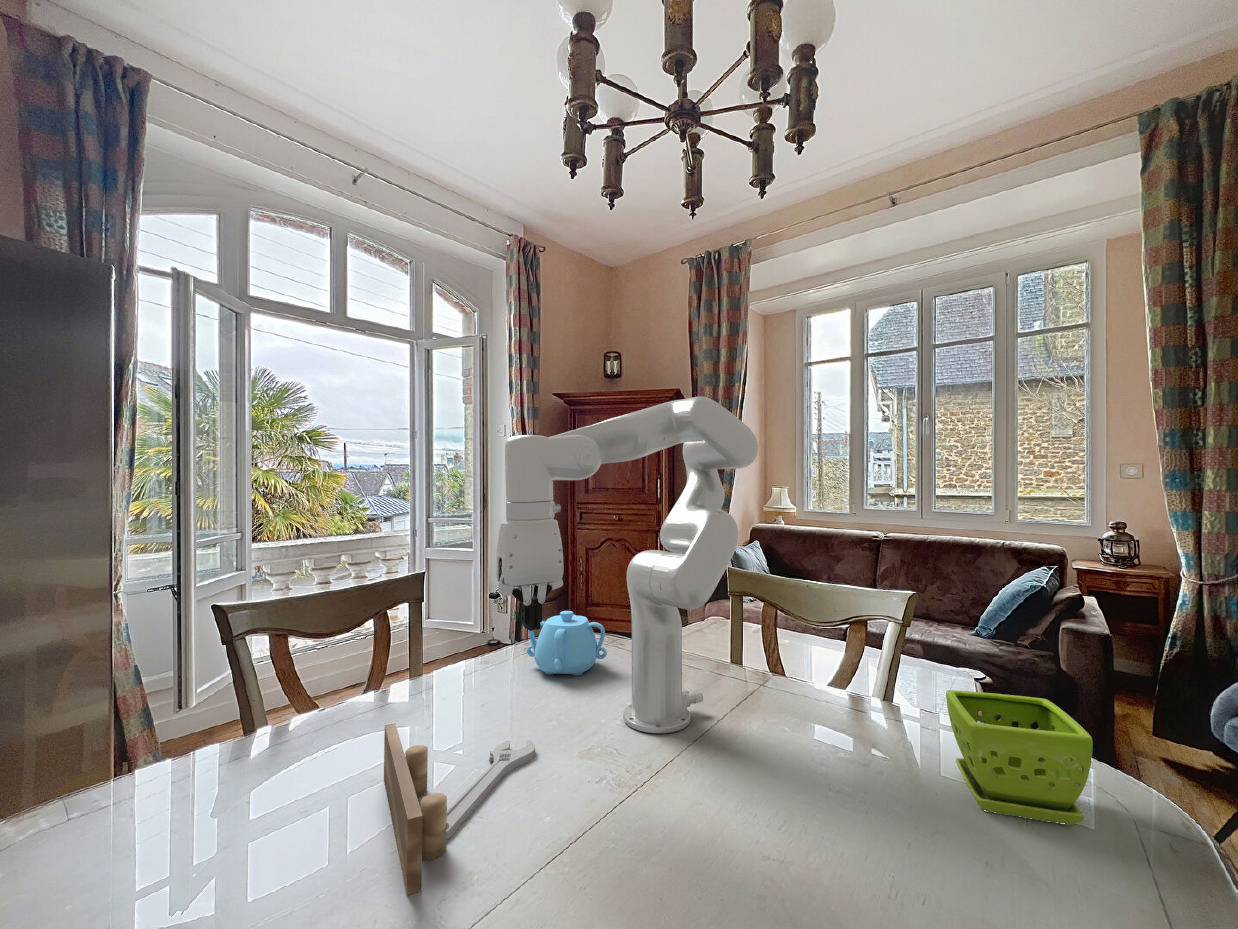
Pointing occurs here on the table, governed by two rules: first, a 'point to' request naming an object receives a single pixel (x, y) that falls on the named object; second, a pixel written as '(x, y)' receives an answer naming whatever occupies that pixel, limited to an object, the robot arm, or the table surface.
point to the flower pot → (1020, 755)
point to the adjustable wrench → (487, 782)
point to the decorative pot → (566, 644)
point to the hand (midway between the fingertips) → (531, 627)
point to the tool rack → (412, 808)
